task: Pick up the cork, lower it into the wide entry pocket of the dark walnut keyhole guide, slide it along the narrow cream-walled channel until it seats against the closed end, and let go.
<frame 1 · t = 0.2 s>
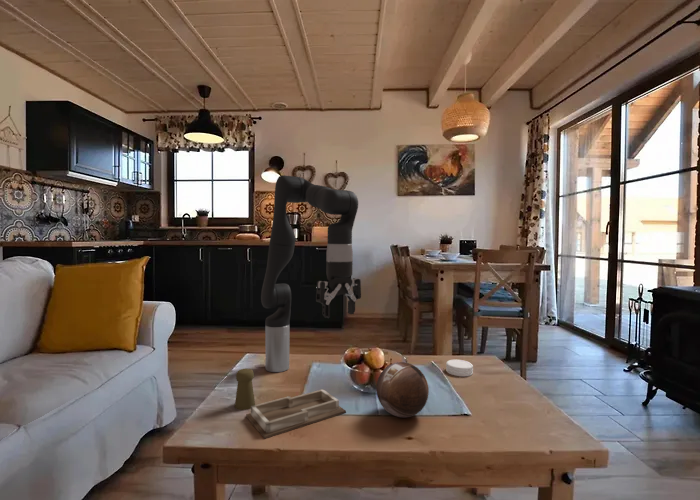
hand: (339, 315, 105), 29 cm above the table, tool pointing down, fingers open, 8 cm apart
white disc: (459, 372, 141), on the table
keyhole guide: (298, 414, 106), on the table
wooden sphere: (401, 415, 106), on the table
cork: (245, 406, 111), on the table
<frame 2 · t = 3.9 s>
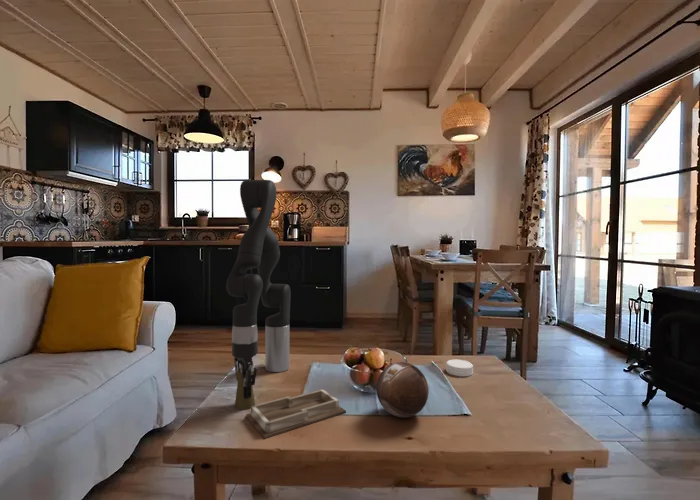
hand: (244, 394, 111), 3 cm above the table, tool pointing down, fingers closed on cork, 4 cm apart
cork: (244, 405, 111), on the table, touching gripper
everything else where it was.
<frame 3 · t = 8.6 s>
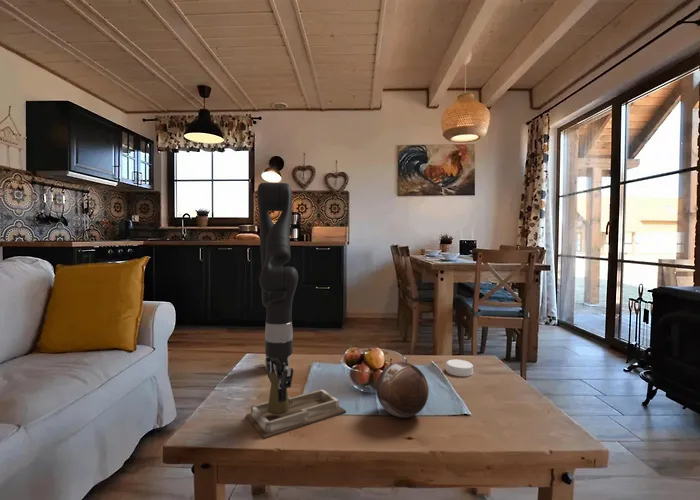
hand: (278, 398, 102), 6 cm above the table, tool pointing down, fingers closed on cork, 4 cm apart
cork: (278, 410, 102), point 3 cm above the table, touching gripper
everything else where it was.
when the fingers open (4 cm above the table, at t = 13.7 s): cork stays where it is, resting on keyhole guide.
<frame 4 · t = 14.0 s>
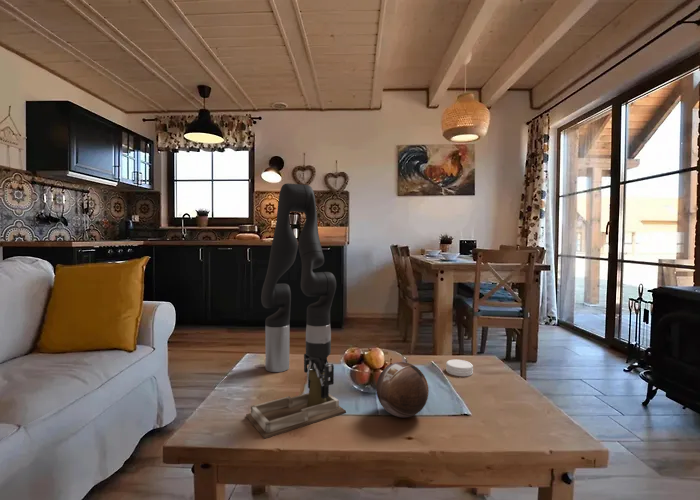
hand: (318, 392, 109), 5 cm above the table, tool pointing down, fingers open, 7 cm apart
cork: (317, 406, 110), resting on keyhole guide
everything else where it was.
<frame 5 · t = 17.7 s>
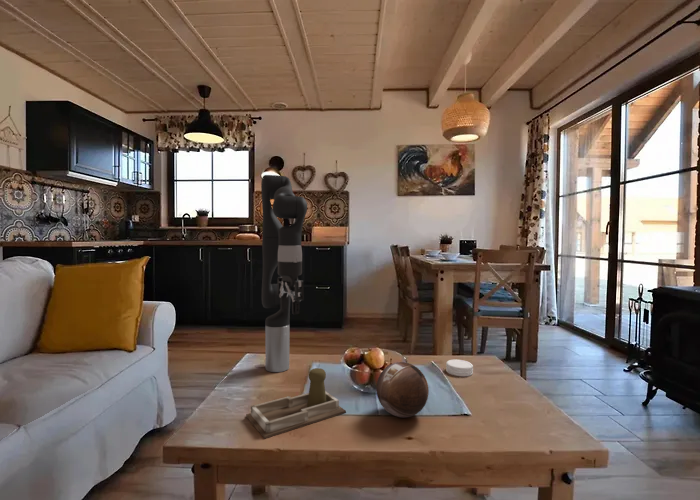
hand: (289, 311, 114), 28 cm above the table, tool pointing down, fingers open, 8 cm apart
nothing on the table moved.
at the end: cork 0.5 cm from the target spot on the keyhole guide, point 0.4 cm above the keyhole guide's base; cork tilted 0°; the gripper is holding nothing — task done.
